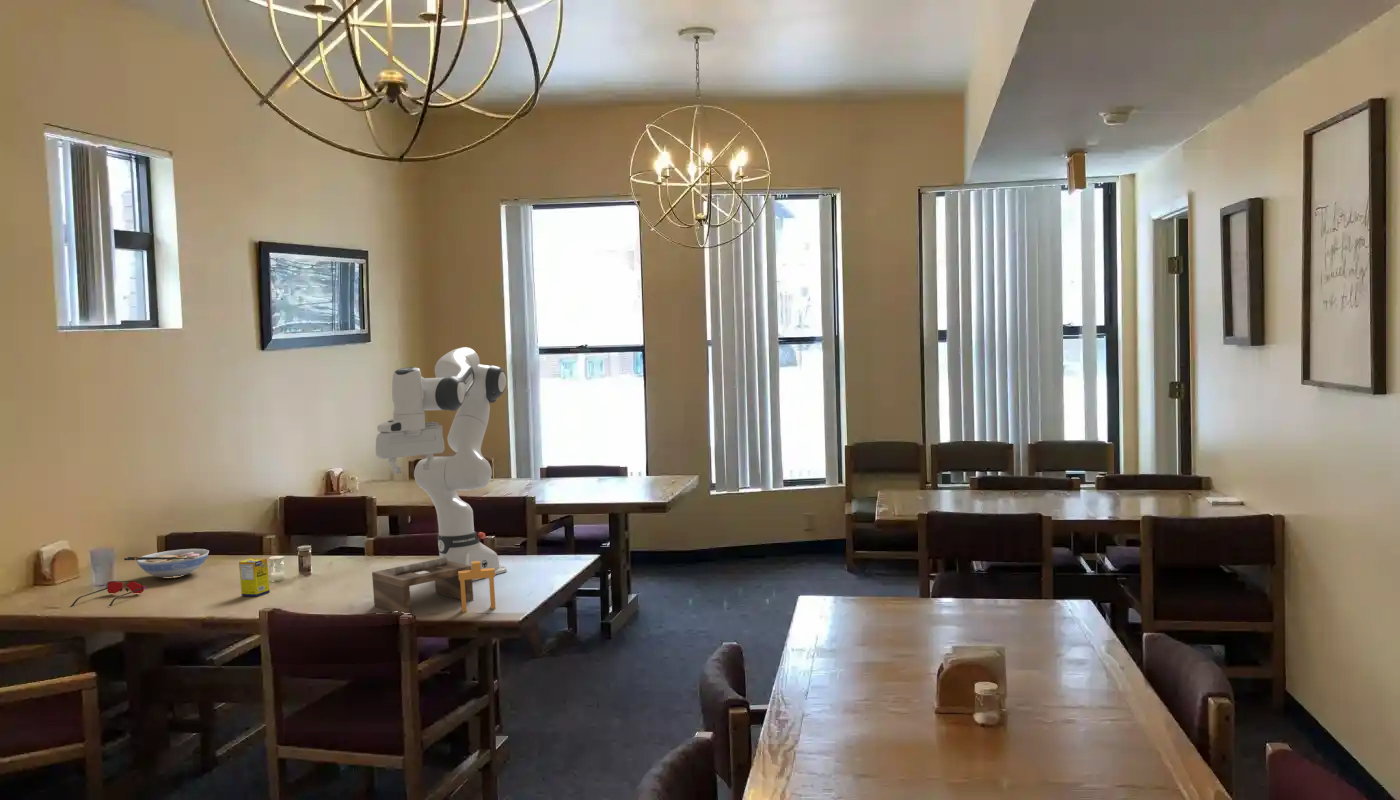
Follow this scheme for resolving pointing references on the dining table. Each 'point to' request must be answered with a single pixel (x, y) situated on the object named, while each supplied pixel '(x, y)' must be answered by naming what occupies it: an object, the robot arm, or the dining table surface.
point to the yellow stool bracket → (477, 574)
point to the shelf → (396, 581)
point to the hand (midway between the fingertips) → (412, 471)
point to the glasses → (120, 588)
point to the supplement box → (254, 577)
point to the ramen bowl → (172, 562)
